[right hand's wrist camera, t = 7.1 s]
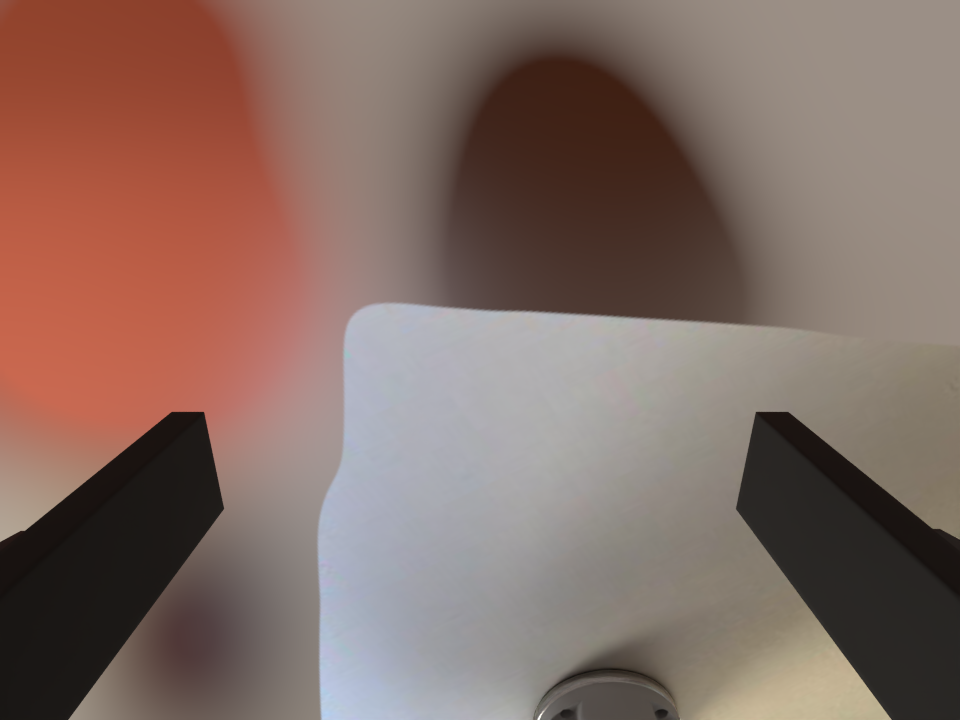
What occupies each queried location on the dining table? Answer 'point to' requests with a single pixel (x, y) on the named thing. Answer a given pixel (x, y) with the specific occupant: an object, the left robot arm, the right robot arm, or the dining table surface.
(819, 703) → the dining table surface
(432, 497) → the dining table surface
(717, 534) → the dining table surface
